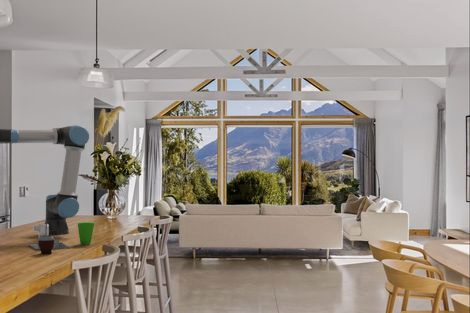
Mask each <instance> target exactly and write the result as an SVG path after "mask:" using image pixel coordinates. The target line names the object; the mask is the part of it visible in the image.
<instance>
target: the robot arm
mask: <svg viewBox="0 0 470 313" xmlns="http://www.w3.org/2000/svg"><path fill="white" fill-rule="evenodd" d="M89 139H90V133H89V131H88V130H87V128H86V127H84V126H83V125H78V124H77V125H76V124H75V125H69V126H68V125H67V126H63V127H56V128H55V127H53V128H52V129H12V128H11V129H10V128H9V129H8V128H7V129H6V128H0V144H2V145H3V144H41V143H43V144H44V143H45V144H47V143H48V144H49V143H50V144H51V143H52V145H62V146H63V148H64V149H65V155H64V156H65V157H64V164H63V170H62V171H63V172H62V177H61V183H60V184H61V185H60V190H59V191H58V192H57V193H55V194H48V195H47V196H46V199H45V221H44V224H46V223H47V224H49V235H50V236H52V235H66V234H69V232H70V229H69V224H68V223H67V219H71V218H73V217H75V216H76V215H77V214H78V212H79V211H80V204H79V203H80V202H79V201H78V198H79V196H78V194H77V193H76V192H77V191H76V190H77V185H78V178H79V173H80V172H79V170H80V164H81V158H82V152H83V151H85V149H86V148H85V147H86V144H87V143H88V142H89Z"/></svg>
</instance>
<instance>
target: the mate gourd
mask: <svg viewBox="0 0 470 313" xmlns="http://www.w3.org/2000/svg"><path fill="white" fill-rule="evenodd" d="M46 233H47V223H46V227H45V236H41V237H40V239H39V242H38V241H37V244H38V245H39V248H40V250H39V251H40V255H41V254H42V255H52V254H53V252H52V250H54V249H53V247H54V243H55V242H54V240H55V238H54V236H52V235H49V236H46Z"/></svg>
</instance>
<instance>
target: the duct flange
mask: <svg viewBox="0 0 470 313" xmlns="http://www.w3.org/2000/svg"><path fill="white" fill-rule="evenodd" d="M54 242H55V243H54V247H53V249H52V250H65V249H64V248H68V249H70V246H69V245H67V244H65V243H63V242H60V241H59V239H54ZM28 246H29V247H30V248H31V249H32V250H34V251H41V250H40V248H39V245H38V243H31V244H28Z"/></svg>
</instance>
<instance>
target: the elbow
mask: <svg viewBox="0 0 470 313" xmlns="http://www.w3.org/2000/svg"><path fill="white" fill-rule="evenodd" d="M45 227H46V224H45V223H41V224H40V223H39V224H38V225H32V231H33V232H36V231H37V232H38V236H37V237H38V239H37V243H38V242H39V239H40V237H41V236H45ZM46 236H50V234H49V224H47V233H46Z"/></svg>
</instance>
